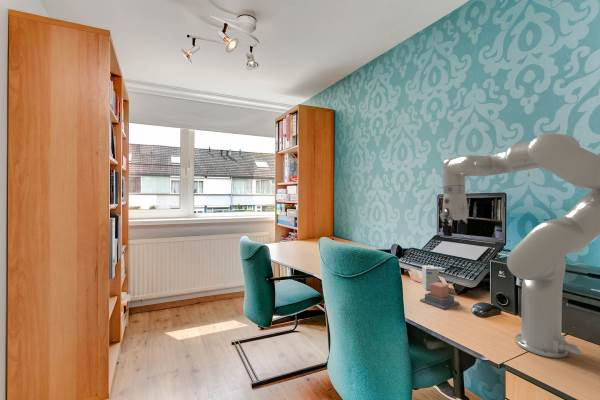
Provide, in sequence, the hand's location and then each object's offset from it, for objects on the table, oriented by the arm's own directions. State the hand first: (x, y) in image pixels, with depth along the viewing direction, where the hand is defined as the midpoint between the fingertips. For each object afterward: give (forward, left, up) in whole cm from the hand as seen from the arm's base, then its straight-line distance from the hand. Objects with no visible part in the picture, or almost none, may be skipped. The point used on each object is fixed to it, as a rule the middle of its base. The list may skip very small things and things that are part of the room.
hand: (455, 234), depth 115 cm
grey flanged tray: (+10, -5, -31) cm, 33 cm away
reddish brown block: (+10, -5, -30) cm, 32 cm away
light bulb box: (+22, -20, -31) cm, 43 cm away
